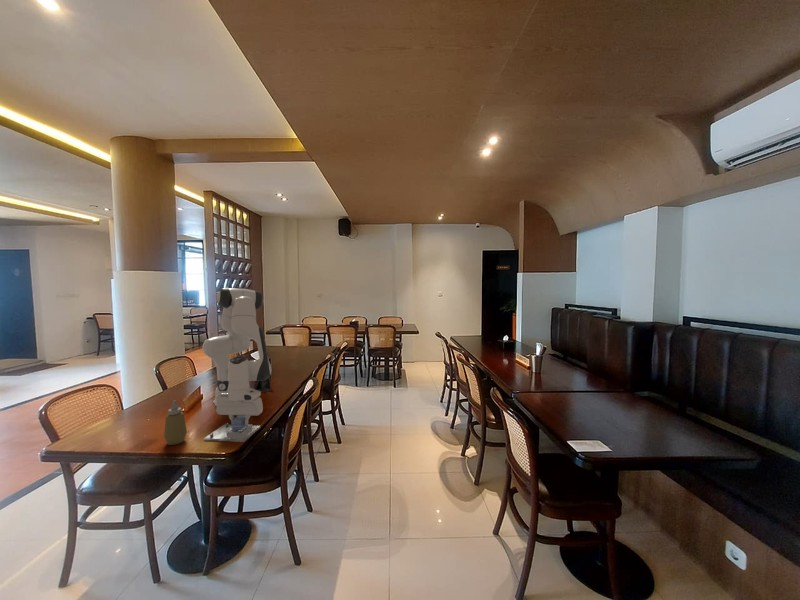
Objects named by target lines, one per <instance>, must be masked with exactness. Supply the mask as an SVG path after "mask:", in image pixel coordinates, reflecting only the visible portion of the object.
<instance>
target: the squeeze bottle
mask: <svg viewBox="0 0 800 600" xmlns="http://www.w3.org/2000/svg"><path fill="white" fill-rule="evenodd" d="M167 413H168V414H167V415H166V416H165V422H164V431H163V432H164V434H163V437H164V440H165V441H166V445H168V446H173V445H179V444H181V443H183V442H184V441H185V439H186V436H187V433H188V431H187V424H186V419H185V418H186V417H185V413H184V412H182V407H179V406H178V403H177V400H173V401H172V403H171V408H169V409H168V410H167Z"/></svg>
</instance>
